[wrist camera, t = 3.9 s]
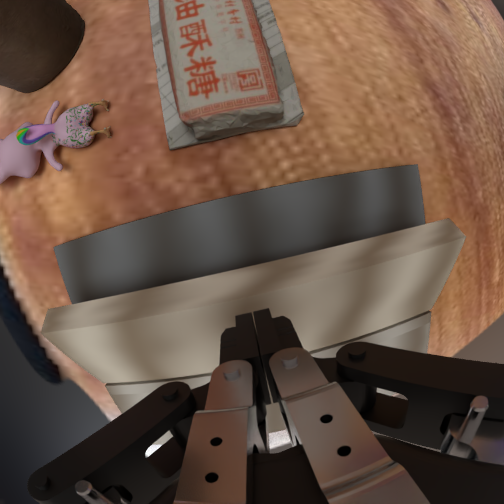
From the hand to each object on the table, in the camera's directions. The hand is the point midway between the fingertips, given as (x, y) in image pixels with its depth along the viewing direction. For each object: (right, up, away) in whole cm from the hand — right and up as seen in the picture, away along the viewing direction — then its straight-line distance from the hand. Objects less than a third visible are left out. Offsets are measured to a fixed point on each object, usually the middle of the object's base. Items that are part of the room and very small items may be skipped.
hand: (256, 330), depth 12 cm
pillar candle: (-20, +23, +3) cm, 31 cm away
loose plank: (0, -1, +6) cm, 6 cm away
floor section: (+1, -2, +10) cm, 10 cm away
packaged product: (-3, +20, +6) cm, 21 cm away
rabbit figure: (-18, +13, +6) cm, 23 cm away
